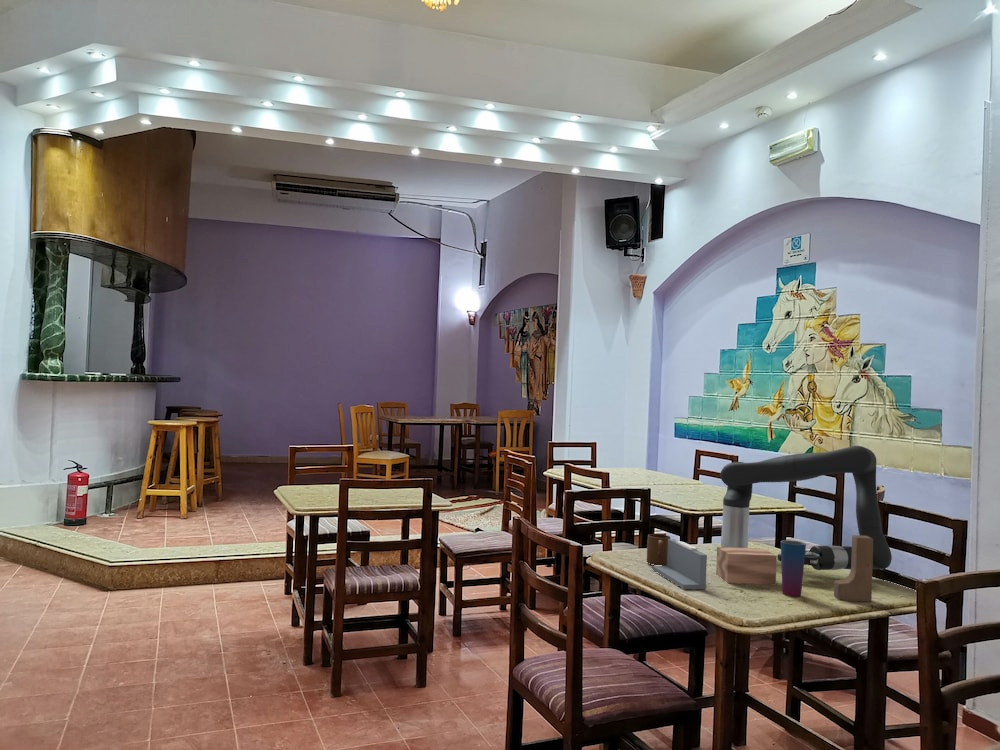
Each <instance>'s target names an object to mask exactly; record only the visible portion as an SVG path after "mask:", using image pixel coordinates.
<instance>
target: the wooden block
mask: <svg viewBox="0 0 1000 750" xmlns="http://www.w3.org/2000/svg"><path fill="white" fill-rule="evenodd" d="M851 547H852V558H851V569H850V572H849V575H848V576H847V577H846V578H845V579H837V580H836V579H835V580H834V581H833V596H834V597H835V598H836V599H837V600H839V599H841V600H840V601H849V600H851V602H861V601H863V603H865V602H866V603H872V596H873V595H872V594H873V569H872V568H873V539H872V538H870V537H868V536H861V535H858V534H853V535H852V536H851Z"/></svg>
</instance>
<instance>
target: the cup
mask: <svg viewBox="0 0 1000 750" xmlns="http://www.w3.org/2000/svg"><path fill="white" fill-rule="evenodd" d="M806 548H807V544H806V542H803V541H799V540H792V539H791V540H789V539H785V540H781V541H780V554H781V562H780V563H781V590H782V591H781V592H782V595H784V596H787V597H791V598H792V597H793V598H799V597H801V596H802V589H803V579H804V569H805V568H804V567H805V565H804V560H805V550H807V549H806Z"/></svg>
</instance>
